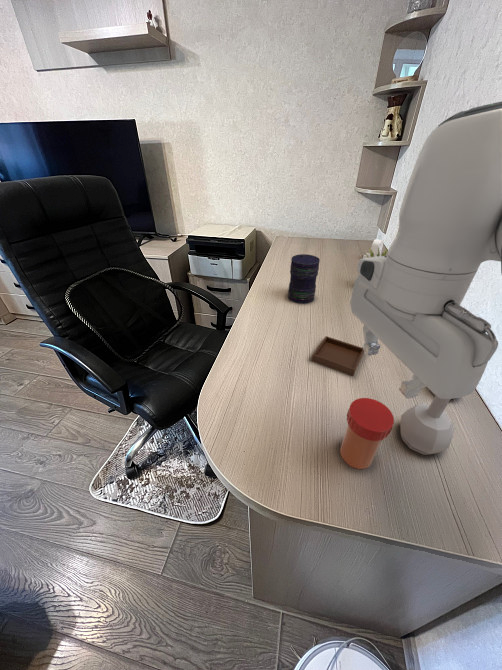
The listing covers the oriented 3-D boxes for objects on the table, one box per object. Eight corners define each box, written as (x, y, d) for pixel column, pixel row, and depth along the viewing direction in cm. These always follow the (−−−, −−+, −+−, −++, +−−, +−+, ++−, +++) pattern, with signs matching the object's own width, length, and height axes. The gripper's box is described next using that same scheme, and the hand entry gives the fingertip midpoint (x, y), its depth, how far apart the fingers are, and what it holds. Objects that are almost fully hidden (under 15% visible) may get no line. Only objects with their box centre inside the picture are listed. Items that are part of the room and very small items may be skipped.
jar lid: (393, 418, 48) (397, 408, 46) (385, 449, 43) (389, 439, 42) (352, 401, 51) (355, 391, 49) (341, 428, 46) (343, 418, 45)
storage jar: (319, 301, 102) (325, 262, 93) (295, 306, 99) (299, 265, 90) (306, 290, 109) (310, 252, 101) (283, 294, 107) (286, 256, 98)
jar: (375, 449, 53) (392, 411, 46) (367, 475, 49) (385, 436, 42) (345, 435, 55) (357, 397, 49) (335, 458, 51) (347, 420, 45)
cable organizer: (366, 256, 141) (371, 236, 135) (386, 261, 136) (392, 240, 130) (362, 259, 138) (367, 238, 132) (382, 264, 132) (388, 243, 127)
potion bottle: (449, 437, 55) (495, 370, 45) (436, 469, 50) (485, 401, 39) (403, 413, 60) (435, 347, 50) (387, 439, 55) (419, 372, 44)
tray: (363, 354, 76) (365, 348, 75) (353, 376, 69) (355, 370, 68) (324, 341, 81) (325, 335, 80) (311, 360, 74) (312, 354, 73)
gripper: (535, 328, 24) (464, 426, 32) (391, 253, 41) (368, 330, 49) (475, 337, 23) (417, 436, 31) (352, 256, 40) (335, 334, 48)
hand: (386, 371), depth 40 cm, fingers open, 8 cm apart
